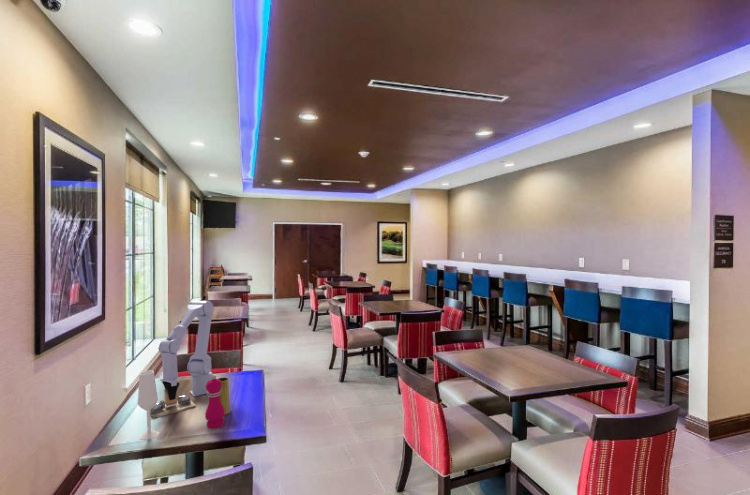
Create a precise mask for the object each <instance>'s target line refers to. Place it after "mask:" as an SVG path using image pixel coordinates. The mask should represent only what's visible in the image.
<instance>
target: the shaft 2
mask: <svg viewBox="0 0 750 495" xmlns="http://www.w3.org/2000/svg"><path fill="white" fill-rule="evenodd" d="M177 401H178V404H181V405H186V404H190V403H191V401H192V400H191V396H190V394H189V393H188V394H184V395H177Z"/></svg>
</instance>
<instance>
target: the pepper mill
mask: <svg viewBox="0 0 750 495" xmlns="http://www.w3.org/2000/svg"><path fill="white" fill-rule="evenodd" d="M221 388H222V382H221V380H219V379H218V378H217V376H216V375H215V374H213V376H212V377H211V380H209V381H208V382H207V383H206V390H207V391H208V393H207V397H208V404H207V407H206V410H205V413H204V414H205V415H204V416H205V420H207V422H206V427H207V429H210V428H211V429H212V430H214V429H213V428H215V429H219V428H221V427H223V426H224V425H225V419H224V417H225V416H226V415H225V410H224V408H223V406H222V404H221V401H220V395H221V390H220V389H221Z"/></svg>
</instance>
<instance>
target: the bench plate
mask: <svg viewBox="0 0 750 495" xmlns="http://www.w3.org/2000/svg"><path fill="white" fill-rule="evenodd" d="M194 408H196V404H195V403H194V402H193V401H192V400H191V403H190V404H186V405H181V404H178V401H177V404H173V405H169V406H166V404H165V409H163V412H160V413H157V414H152V413H150V418H151V419H155V418H158V417H159V418H160V417H164V416H167V415H171V414H175V413H179V412H182V411H187V410H190V409H194Z"/></svg>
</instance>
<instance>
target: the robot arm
mask: <svg viewBox="0 0 750 495" xmlns="http://www.w3.org/2000/svg"><path fill="white" fill-rule="evenodd" d="M186 309H187V311H186V313H185V315H184V316H183V318H182V320H181V321H180V322H179V324H177V325H175V326H173V328H172V330H171V331H170V333H169V335H167V337H166V339H163V340H161V342H160V343H159V344H158V345H159V346H158V352H159V353H160V357H161V358H162V359H161V360H162V361H161V362H162V364H161V365H162V377H160V378H159V380H160V382H161V383H162V384H163V387H164V390H165V389H167V391H168V396H169V399H170V400H174V399H175V397H176V392H177V393H178V388H179V386H180V382H177V381H178V379H179V375H178V356H177V354H178V351H179V350H180V347H181V343H182V342H181V341H182V340H183V339H184V337H185V336H186V334H187V331H188V330H187V328H188V327H189V326H190V324H191V323H192V322H193V321H194V319H195V318H197V319H198V326H197V327H198V328H197V334H196V343H195V349H194V353H193V354H192V355H190V357H189V361H188V363H187V368H186V369H187V372H188V373H189V375H190V376H191V390H189V393H190V394H191V395H192V396H193V397H198V396H202V395H206V394H207V393H208V391H207V390H206V383H207V382H208V381H209V380H211V377H212V376H213V375H214V374H213V372H212V371H211V370H212V357H211V356H210V355H209V354H208V349H209V348H208V347H209V340H210V339H209V338H210V332H211V331H210V330H211V325H212V324H211V323H212V317H213V312H214V304H213V302H212V301H210V300H193V299H192V300H191V301H190V302H189V303H188V305H187V306H186ZM207 395H208V394H207Z"/></svg>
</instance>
